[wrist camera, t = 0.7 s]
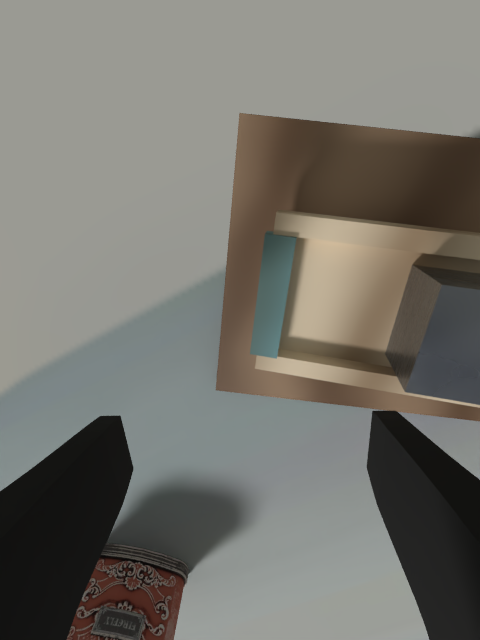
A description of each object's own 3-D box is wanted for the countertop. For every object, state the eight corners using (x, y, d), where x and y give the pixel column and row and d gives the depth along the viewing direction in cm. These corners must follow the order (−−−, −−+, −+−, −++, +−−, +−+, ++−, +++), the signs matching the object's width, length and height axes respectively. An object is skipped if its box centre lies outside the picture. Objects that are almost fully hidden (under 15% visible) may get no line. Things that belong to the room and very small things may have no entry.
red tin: (192, 559, 27) (156, 759, 17) (184, 584, 28) (147, 782, 19) (93, 537, 26) (3, 728, 17) (90, 563, 28) (4, 754, 18)
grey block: (550, 282, 12) (620, 309, 10) (506, 373, 14) (557, 418, 11) (411, 264, 13) (442, 285, 10) (385, 353, 15) (404, 392, 12)
